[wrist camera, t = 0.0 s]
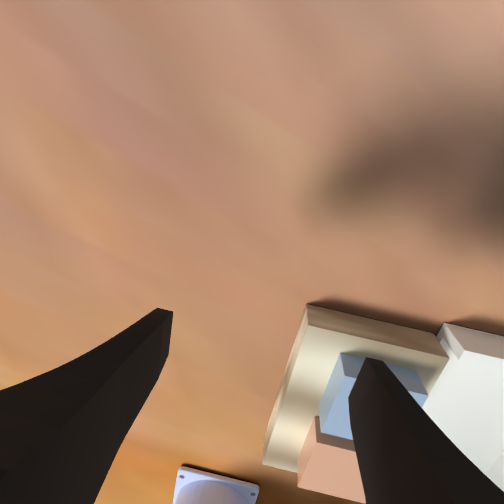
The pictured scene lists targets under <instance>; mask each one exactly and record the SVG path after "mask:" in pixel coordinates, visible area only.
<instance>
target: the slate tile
mask: <svg viewBox="0 0 504 504" xmlns="http://www.w3.org/2000/svg"><path fill="white" fill-rule="evenodd" d="M364 360H365V358H360V357H356V356H352V355H348V354H343V353H340V354H339V356H338V359H337V361H336V364H335V366H334V369H333V371H332V374H331V376H330V379H329V381H328V384H327V386H326V389H325V391H324V394H323V396H322V399H321V401H320V404H319V406H318V408H319V419H320V429H321V432H322V433H326V434H330V435H334V436H338V437H342V438H346V439H351V440H353V437H352V432H351V426H350V416H349V403H348V396H349V394H350V392H351V390H352V387H353V385H354V383H355V381H356V378H357V376H358V374H359V372H360V369H361V367H362V365H363V363H364ZM385 364H386V363H385ZM386 365H387V366H388V367H389V369H390V370H391V371H392V372H393V373H394V375H395V376H396V377H397V378H398V380H399V381H400V382H401V383H402V384H403V386H404V387H405V388H406V389H407V391H408V392H409V393H410V394H411V395H412V397H413V398H414V399H415V400H416V402H417V403H418V404H419V405H420V406H421V408H422V406H423V405H424V403H425V401H426V400H427V398H428V396H429V395H428V393H427V391H426V389H425V387H424V385H423V383H422V381H421V379H420V377H419V375H418V373H417V371H416V370H412V369H407V368H403V367H399V366H394V365H390V364H386Z"/></svg>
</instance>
